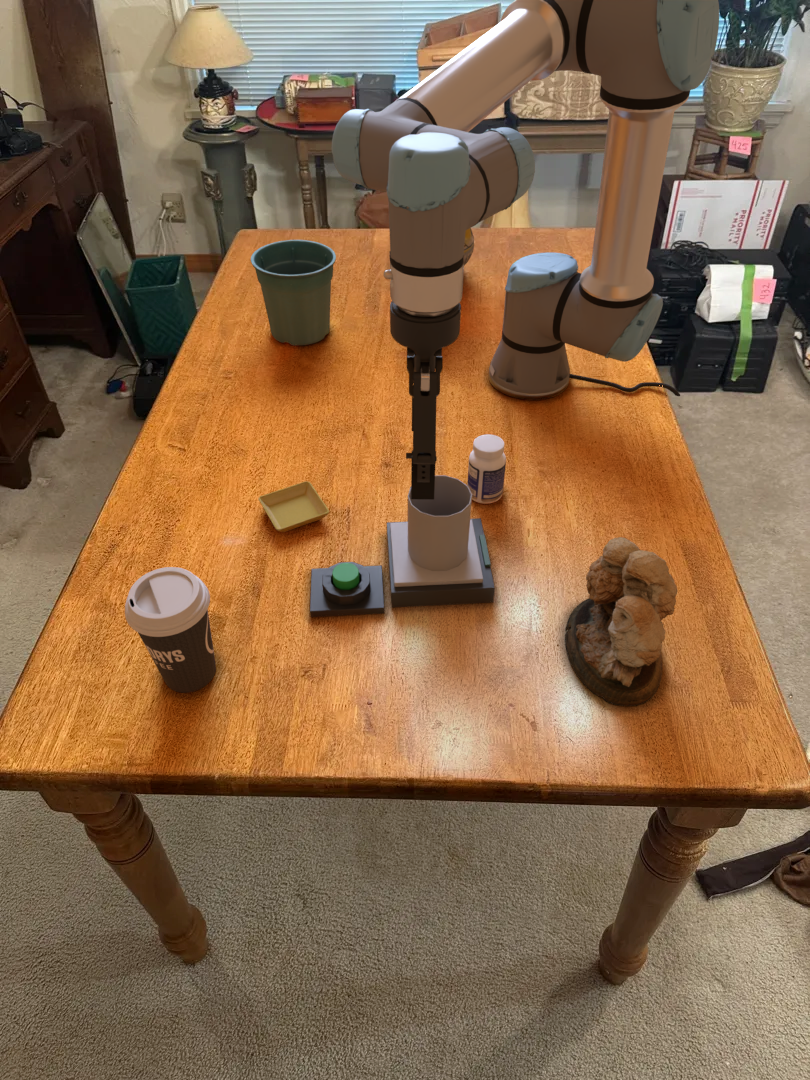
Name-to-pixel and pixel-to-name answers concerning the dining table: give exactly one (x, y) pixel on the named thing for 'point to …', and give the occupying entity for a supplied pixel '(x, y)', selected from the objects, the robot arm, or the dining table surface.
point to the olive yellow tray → (293, 506)
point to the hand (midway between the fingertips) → (422, 462)
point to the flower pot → (296, 289)
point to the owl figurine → (622, 624)
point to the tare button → (345, 576)
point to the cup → (440, 525)
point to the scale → (439, 573)
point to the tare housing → (346, 593)
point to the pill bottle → (487, 469)
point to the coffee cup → (174, 626)
